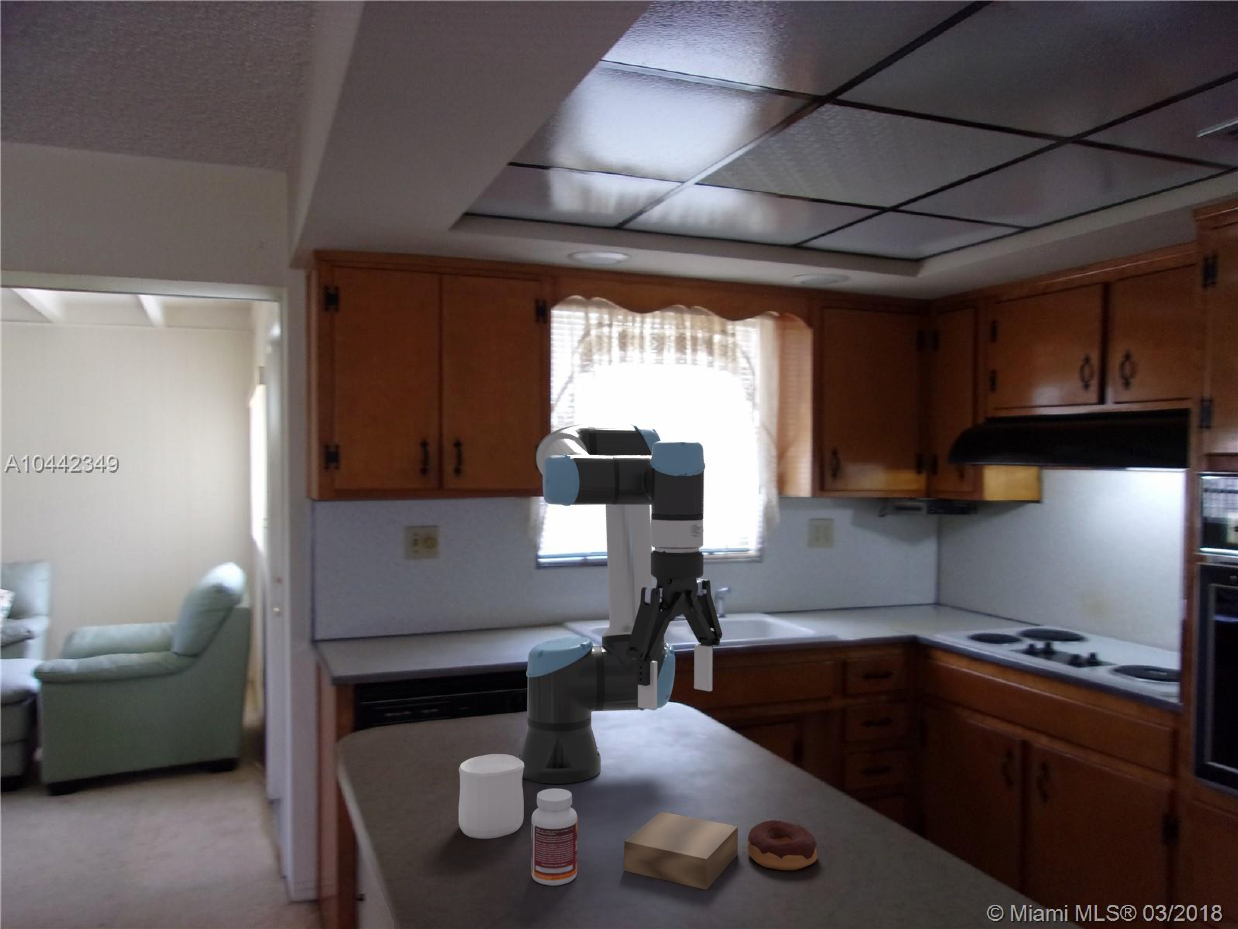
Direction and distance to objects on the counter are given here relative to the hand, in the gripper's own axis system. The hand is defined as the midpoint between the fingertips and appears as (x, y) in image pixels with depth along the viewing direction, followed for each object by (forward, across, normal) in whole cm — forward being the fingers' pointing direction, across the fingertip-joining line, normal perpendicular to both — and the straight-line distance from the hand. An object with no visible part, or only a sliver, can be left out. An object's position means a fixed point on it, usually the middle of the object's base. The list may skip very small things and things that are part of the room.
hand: (676, 698), depth 129 cm
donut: (+22, +9, -12) cm, 27 cm away
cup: (+22, -10, +27) cm, 37 cm away
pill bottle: (+22, -16, +8) cm, 29 cm away
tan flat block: (+22, -2, -2) cm, 22 cm away
